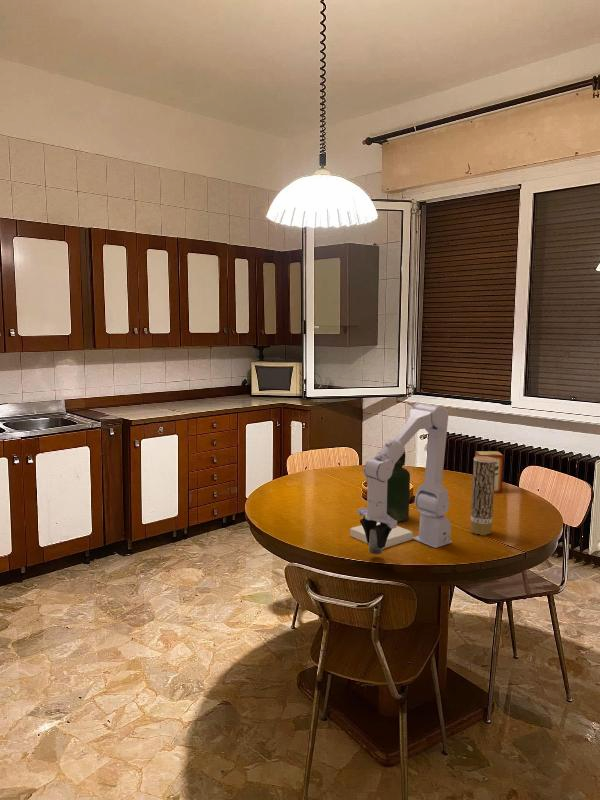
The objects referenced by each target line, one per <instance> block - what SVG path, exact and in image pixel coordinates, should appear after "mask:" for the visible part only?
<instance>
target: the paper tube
mask: <svg viewBox="0 0 600 800" xmlns="http://www.w3.org/2000/svg"><path fill="white" fill-rule="evenodd" d="M495 464H496V459H495V458H493V457H488V456H476V457H475V456H474V457H473V467H472V468H473V469H472V486H471V489H472V490H471V506H470V507H471V509H470V526H469V527H470V528H469V529H470V532H471V533H472V532H473V533H472V534H474V533H475V534H474V535H477V534H480V535H479V536H488V535H487V534H489V535H491V534H492V531H493V518H494V517H493V515H494V499H495V495H494V494H495V493H494V482H495ZM490 533H491V534H490Z"/></svg>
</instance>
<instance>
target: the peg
mask: <svg viewBox="0 0 600 800" xmlns="http://www.w3.org/2000/svg"><path fill="white" fill-rule="evenodd" d="M368 552H369V553H370V554H373V555H380V554H383V552H384V548H378V537H377V532H376V529H375V526H372V527H370V529H369V544H368Z"/></svg>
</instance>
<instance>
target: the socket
mask: <svg viewBox="0 0 600 800" xmlns="http://www.w3.org/2000/svg"><path fill="white" fill-rule="evenodd" d="M379 524H380V523H379V522H377V524H376V525H379ZM413 533H414V532H413V531H411V530H409V529H406V528H403V527H401V526H399V525H397V527H396V528H393V529H392V530H391V531H390V533H389V535H388V538H387V541H386V544H385V547H383V549H386V548H389V547H393V546H396V545H398V544H403V543H405V542H408V541H412V540H413ZM349 536H350V537H352V538H355V539H356V540H358V541H361V542H363V543H366V544H368V545H369V543H367V539H366V535H365V531H364V529H363V526H362V524H360V525H358V526H357V525H356V526H353V527H350V528H349Z"/></svg>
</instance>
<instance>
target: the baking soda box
mask: <svg viewBox="0 0 600 800" xmlns="http://www.w3.org/2000/svg"><path fill="white" fill-rule="evenodd" d="M476 456H488V457H493V458H495V459H496V464H495V482H494V494H502V493H503V492H502V491H503V490H502V489H503V476H504V459H505V458H504V457H505V456H504V454H503V453H501V452H500V451H496V450H495V451H493V450H491V451H490V450H488V451H487V450H486V451H483V450H482V451H481V450H480V451H477V450H475V455H474V457H476Z"/></svg>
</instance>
